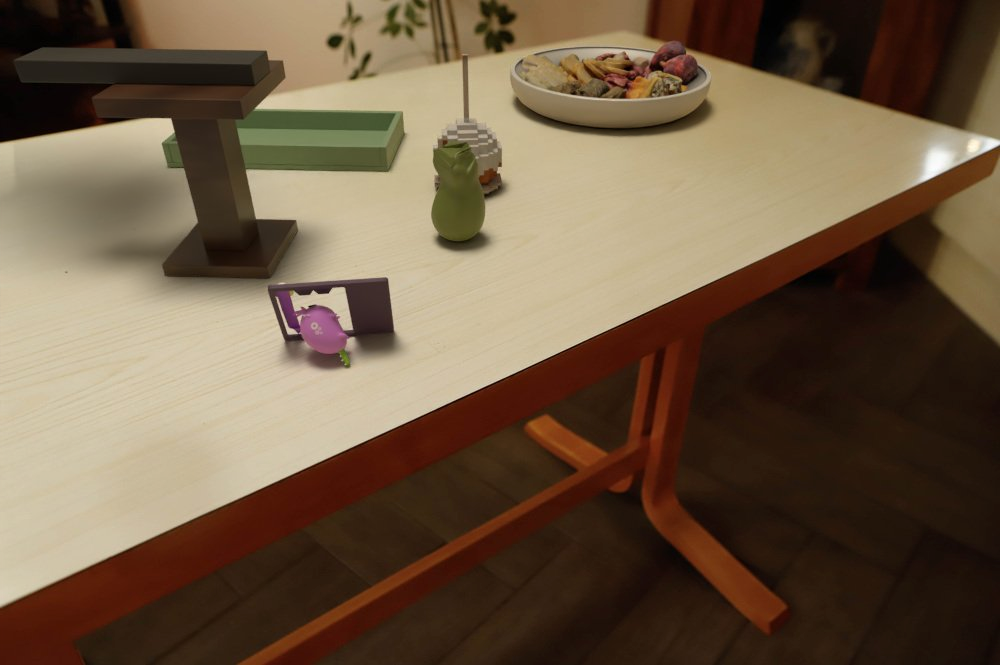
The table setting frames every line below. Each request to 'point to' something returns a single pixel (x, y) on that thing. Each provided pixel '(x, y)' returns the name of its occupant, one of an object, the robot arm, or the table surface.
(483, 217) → the green rounded figure
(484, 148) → the decorative ornament
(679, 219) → the table surface
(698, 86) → the bowl
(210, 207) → the walnut stand
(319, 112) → the green tray
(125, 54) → the black rectangular bar
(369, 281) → the pop-out character card
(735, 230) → the table surface
